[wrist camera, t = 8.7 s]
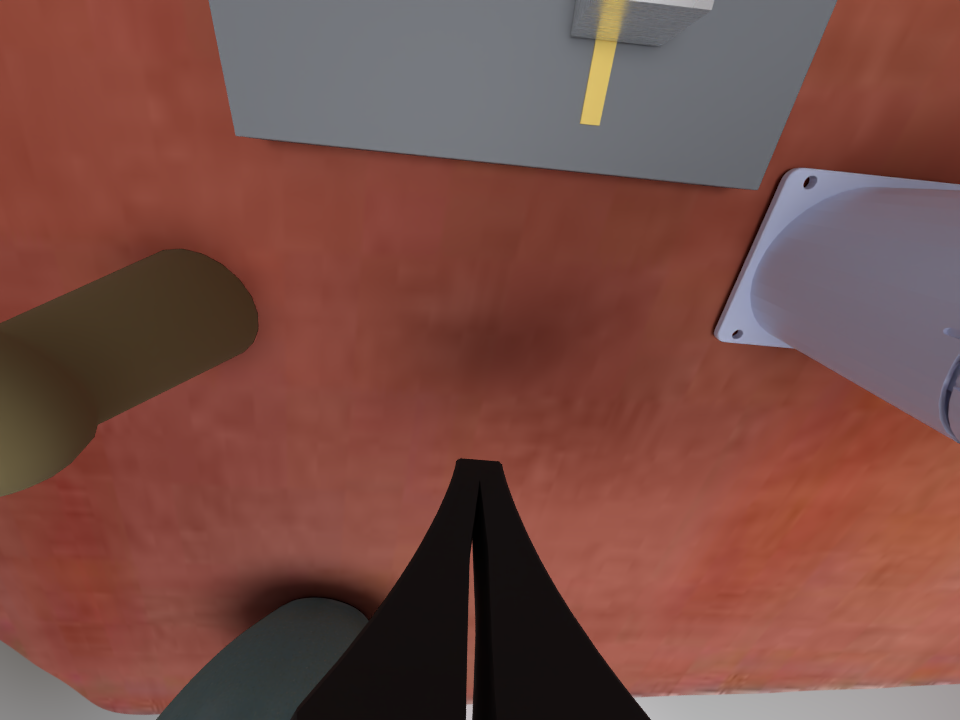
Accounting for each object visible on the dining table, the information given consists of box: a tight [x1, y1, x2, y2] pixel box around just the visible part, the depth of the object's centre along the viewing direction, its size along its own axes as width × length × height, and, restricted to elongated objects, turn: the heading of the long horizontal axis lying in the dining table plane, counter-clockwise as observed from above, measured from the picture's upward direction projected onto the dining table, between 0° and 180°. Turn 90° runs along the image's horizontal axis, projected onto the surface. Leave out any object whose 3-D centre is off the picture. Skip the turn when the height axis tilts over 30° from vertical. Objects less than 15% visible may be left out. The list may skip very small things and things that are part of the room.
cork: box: [0, 249, 258, 496], centre depth 14 cm, size 6×6×11 cm
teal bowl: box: [156, 598, 368, 720], centre depth 28 cm, size 18×18×12 cm
